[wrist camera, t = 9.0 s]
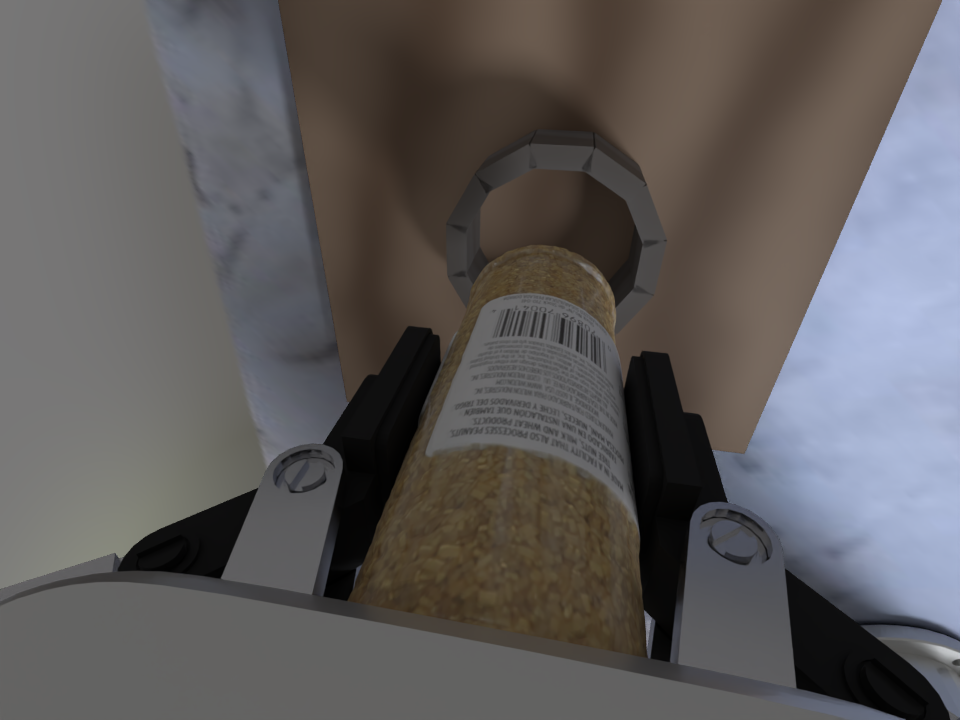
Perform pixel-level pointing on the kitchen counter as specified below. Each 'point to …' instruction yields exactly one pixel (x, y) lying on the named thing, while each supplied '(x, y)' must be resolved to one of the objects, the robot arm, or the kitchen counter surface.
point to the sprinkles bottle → (520, 469)
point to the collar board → (655, 95)
